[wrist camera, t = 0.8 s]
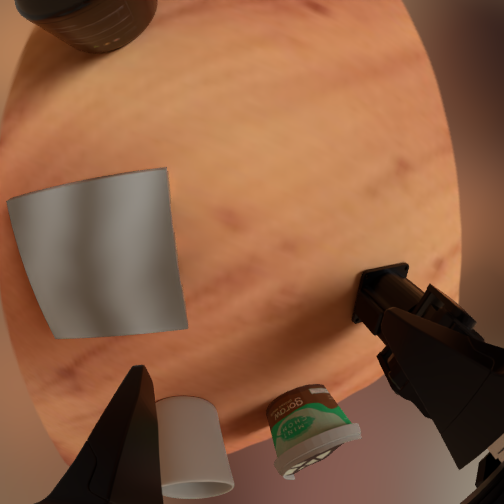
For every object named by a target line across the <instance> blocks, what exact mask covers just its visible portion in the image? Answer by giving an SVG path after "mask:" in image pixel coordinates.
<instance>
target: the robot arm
mask: <svg viewBox="0 0 504 504" xmlns="http://www.w3.org/2000/svg"><path fill="white" fill-rule="evenodd" d="M408 269H409V265H408V264H407V263H401V264H396V265H391V266H386V267H381V268H376V269H371V270H366V271H364V272H363V273H362V276H361V281H360V286H359V290H358V295H357V299H356V304H355V308H354V312H353V316H352V321H353V322H354V323H355V324H356V323H360V322H363V323H364V324H365V325H366V327H367V328H368V329H369V330H370V331H371V333H372V334H373V335H377V336H378V337H379V338H380V339H381V340H382V341H383V343H384V344H385V345H386V346H385V348H384V349H383V350H382V351H381V352H379V354H378V355H377V358H378V360H379V363H380V365H381V367H382V369H383V371H384V374H385V376H386V377H387V380H388V382H389V384H390V386H391V388H392V389H393V390H394V392H395V393H396V394H397V395H400V396H401V397H403V398H404V399H406V400H409V401H411V402H413V403H414V404H415V405H416V407H417V408H418V409H419V410H420V411H421V413H422V414H423V415H424V416H425V417H427V418H430V419H432V420H433V422H434V424H435V425H436V427H437V429H438V431H439V433H440V434H441V436H442V438H443V440H444V442H445V444H446V446H447V448H448V450H449V451H450V454H451V456H452V457H453V459H454V461H455V463H456V465H457V467H458V469H459V470H460V469H462V468H463V467H464V466H465V465H467V464H468V463H470V462H471V461H472V460H474V459H475V458H476V457H477V456H479V455H480V454H481V453H482V452H483V451H485V450H486V449H487V448H488V450H489V451H490V452H489V453H488V454H487V455H486V456H485V457H484V458H483V459H482V460H481V461H480V462H479V466H478V472H477V478H476V483H475V485H476V487H477V489H476V490H475V491H474V492H472V493H471V494H470V495H469V496H468V497H467V498H466V499H465V500H464V501H462V502H461V503H460V504H504V348H501V347H498V346H494V345H491V344H488V343H485V340H484V338H483V337H482V336H481V335H480V334H479V333H477V332H476V331H475V330H474V329H473V328H474V327H475V325H476V324H477V322H476V321H475V320H474V319H473V318H472V317H471V316H470V315H469V314H468V313H467V312H466V311H465V310H464V309H463V308H462V307H461V306H459V305H458V304H457V303H456V302H455V301H453V300H452V299H451V298H450V297H448V296H447V295H446V294H444V293H443V292H441V291H440V290H439V289H437V288H436V287H434V286H433V285H431V284H429V285H428V287H427V290H426V292H425V293H424V292H423V291H422V290H421V289H419V288H418V287H417V286H416V285H415V284H413V283H412V282H411V281H410V280H408V279H407V278H406V277H407V273H408ZM87 440H88V441H86V442H85V444H84V446H83V447H82V449H81V451H80V452H79V454H78V456H77V457H76V459H75V460H74V462H73V463H72V465H71V466H70V468H69V469H68V470H67V472H66V473H65V475H64V476H63V477H62V478H61V480H60V481H59V483H58V484H57V485H56V487H55V488H54V489H53V491H52V492H51V493H50V494H49V495H48V496H47V497H46V498H45V499H43V500H42V501H40V502H38V503H35V504H163V495H162V484H161V472H160V457H159V433H158V419H157V411H156V404H155V396H154V387H153V382H152V379H151V377H150V375H149V373H148V371H147V369H146V367H145V366H144V365H135V366H132V367H131V369H130V371H129V372H128V374H127V375H126V377H125V378H124V380H123V382H122V383H121V385H120V386H119V388H118V390H117V391H116V393H115V394H114V396H113V398H112V399H111V401H110V402H109V404H108V406H107V407H106V409H105V411H104V412H103V414H102V416H101V417H100V419H99V421H98V422H97V424H96V426H95V427H94V429H93V431H92V432H91V434H90V436H89V437H88V439H87Z"/></svg>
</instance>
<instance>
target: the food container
mask: <svg viewBox="0 0 504 504" xmlns="http://www.w3.org/2000/svg"><path fill="white" fill-rule="evenodd" d="M267 418H268V422H269V426H270V430H271V434H272V438H273V442H274V446H275V449H276V454H277V457H278V458H277V459H276V460H275V462H274V466H275V468H276V469H277V471H278V472H279V474H280V475H282V476H283V477H284V478H285V479H288V480H294V479H295V478H294V473H296V472H298V471H300V470H301V469H303V468H305V467H307V466H309V465H311V464H314V463H316V462H319V461H321V460H323V459H325V458H326V457H327V456H329V455H330V454H331V453H332V452H333V451H334V450H336V449H337V448H338V447H339V446H341V445H342V444H343V443H345V442H348V441H352V440H356V439H362V437H361V435H360V434H361V430H360V428H359V424H358V423H355V424H352V423H351V422H350V420H349V419H348V418H347V417H346V415H345V414H344V412H343V411H342V410H341V408H340V407H339V406H338V404H337V403H336V402H335V400H334V399H333V397H332V396H331V395H330V393H329V392H328V391H327V389H326V388H325V387H324V385H320V384H313V385H306V386H302V387H298V388H295V389H293V390H290V391H288V392H286V393H284V394H283V395H281V396H279V397H278V398H276V399H275V400H274V401H273V402H272V403H271V404H270V405H269V407H268V408H267Z"/></svg>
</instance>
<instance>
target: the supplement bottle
mask: <svg viewBox="0 0 504 504" xmlns="http://www.w3.org/2000/svg"><path fill="white" fill-rule="evenodd" d="M15 5H16V8H17V10H18V12H19V13H20V14H21V15H22V16H23V17H25V18H26V19H27V20H29V21H30V22H32V23H34V24H36V25H38V26H39V27H41V28H43V29H44V30H46V31H48V32H50V33H51V34H53V35H55V36H56V37H58V38H60V39H61V40H63V41H64V42H66V43H68V44H69V45H71V46H73V47H74V48H76V49H78V50H80V51H83V52H87V53H103V52H108V51H111V50H114V49H117V48H119V47H122V46H124V45H126V44H127V43H129V42H131V41H132V40H133V39H135V38H136V37H137V36H138V35H140V34H141V33H142V32H143V31H144V30H145V29H146V27H147V26H148V25H149V23H150V22H151V20H152V19H153V17H154V15H155V12H156V8H157V0H15Z"/></svg>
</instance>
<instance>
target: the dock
mask: <svg viewBox="0 0 504 504" xmlns="http://www.w3.org/2000/svg"><path fill="white" fill-rule="evenodd" d="M6 202H7V207H8V211H9V216H10V220H11V224H12V228H13V232H14V235H15V239H16V242H17V246H18V249H19V252H20V255H21V259H22V262H23V265H24V267H25V270H26V273H27V276H28V279H29V281H30V284H31V286H32V289H33V291H34V294H35V296H36V299H37V301H38V303H39V306H40V308H41V310H42V312H43V315H44V317H45V319H46V321H47V323H48V325H49V327H50V329H51V331H52V333H53V335H54V337H55V339H72V338H93V337H109V336H123V335H135V334H145V333H155V332H165V331H174V330H182V329H188V320H187V314H186V304H185V298H184V292H183V286H182V285H181V281H180V275H179V268H178V254H177V246H176V239H175V232H174V233H173V225H172V216H171V207H170V203H171V195H170V184H169V173H168V171H167V167H163V168H155V169H147V170H140V171H133V172H127V173H120V174H114V175H108V176H103V177H97V178H92V179H87V180H82V181H77V182H72V183H68V184H63V185H59V186H54V187H50V188H46V189H42V190H38V191H34V192H30V193H27V194H23V195H20V196H16V197H13V198H11V199H9V200H8V201H6Z"/></svg>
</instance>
